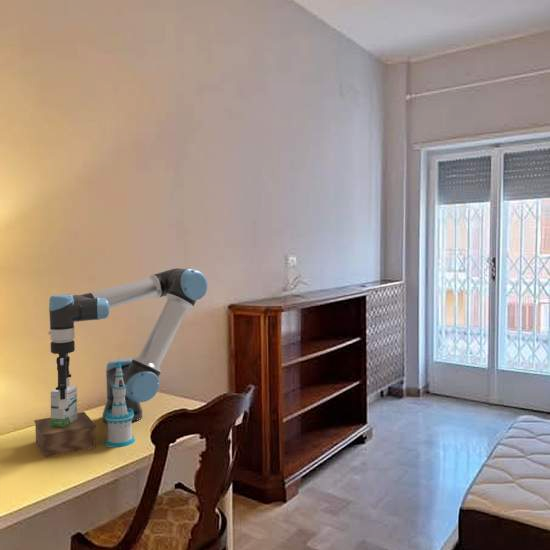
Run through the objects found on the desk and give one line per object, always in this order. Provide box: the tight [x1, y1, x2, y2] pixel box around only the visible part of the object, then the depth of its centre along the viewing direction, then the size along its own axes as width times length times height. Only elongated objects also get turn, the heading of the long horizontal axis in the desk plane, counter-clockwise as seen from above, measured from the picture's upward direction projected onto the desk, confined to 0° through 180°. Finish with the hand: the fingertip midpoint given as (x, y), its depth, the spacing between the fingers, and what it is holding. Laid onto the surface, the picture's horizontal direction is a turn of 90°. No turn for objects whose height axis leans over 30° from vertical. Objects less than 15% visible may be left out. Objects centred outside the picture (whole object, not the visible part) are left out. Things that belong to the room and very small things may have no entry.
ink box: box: [50, 385, 78, 427], centre depth 175 cm, size 9×5×12 cm, turn 169°
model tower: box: [104, 356, 136, 448], centre depth 178 cm, size 10×10×30 cm
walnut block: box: [33, 411, 97, 459], centre depth 176 cm, size 17×17×8 cm
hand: (64, 402), depth 175 cm, fingers open, 13 cm apart
